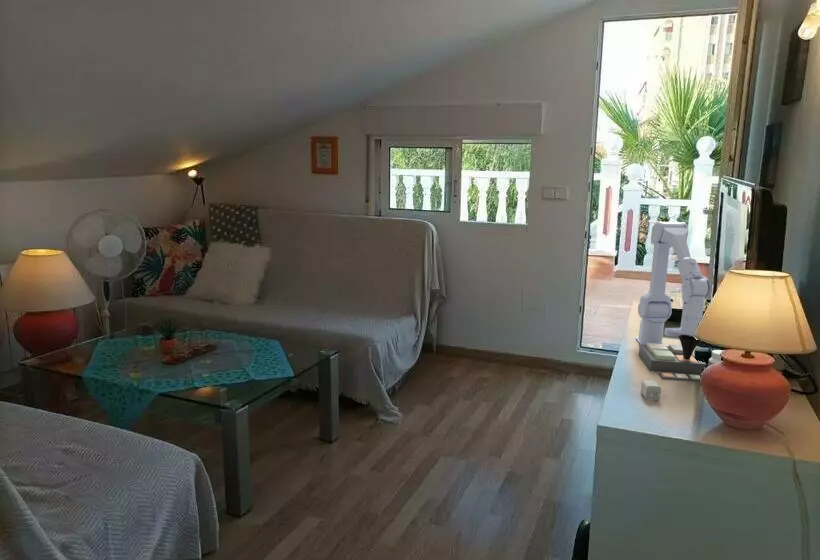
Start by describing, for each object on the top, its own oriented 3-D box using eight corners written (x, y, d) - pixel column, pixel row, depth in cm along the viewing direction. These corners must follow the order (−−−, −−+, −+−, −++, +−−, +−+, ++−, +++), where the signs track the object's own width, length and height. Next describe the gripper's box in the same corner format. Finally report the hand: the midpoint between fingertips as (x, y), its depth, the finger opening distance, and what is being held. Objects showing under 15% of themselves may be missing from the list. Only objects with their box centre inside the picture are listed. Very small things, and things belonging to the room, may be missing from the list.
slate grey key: (668, 353, 202) (669, 344, 201) (685, 354, 201) (686, 345, 201) (672, 358, 197) (673, 349, 196) (690, 359, 196) (691, 350, 195)
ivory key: (646, 351, 203) (647, 342, 202) (663, 352, 202) (664, 344, 201) (650, 357, 197) (651, 348, 197) (667, 358, 197) (668, 349, 196)
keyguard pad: (638, 354, 205) (639, 344, 204) (688, 358, 203) (690, 347, 202) (650, 371, 190) (651, 360, 189) (704, 375, 188) (706, 364, 187)
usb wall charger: (654, 394, 172) (656, 380, 171) (663, 404, 165) (664, 390, 165) (640, 393, 172) (641, 379, 172) (648, 403, 166) (649, 389, 165)
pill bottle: (722, 381, 183) (727, 349, 181) (730, 388, 178) (735, 356, 176) (702, 380, 184) (707, 348, 182) (709, 387, 178) (714, 354, 176)
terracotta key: (673, 363, 195) (674, 354, 195) (691, 365, 195) (692, 356, 194) (678, 369, 190) (680, 360, 189) (697, 371, 189) (698, 361, 189)
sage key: (651, 358, 196) (652, 349, 195) (669, 359, 195) (670, 350, 195) (655, 364, 191) (656, 355, 190) (673, 365, 190) (675, 356, 189)
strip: (662, 379, 183) (662, 376, 183) (658, 374, 187) (659, 371, 187) (704, 382, 182) (705, 379, 182) (700, 377, 186) (700, 374, 186)
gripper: (671, 318, 186) (665, 361, 189) (721, 321, 184) (715, 364, 187) (664, 312, 193) (659, 353, 196) (713, 315, 191) (707, 356, 194)
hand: (686, 358), depth 192 cm, fingers closed, pressing on terracotta key
